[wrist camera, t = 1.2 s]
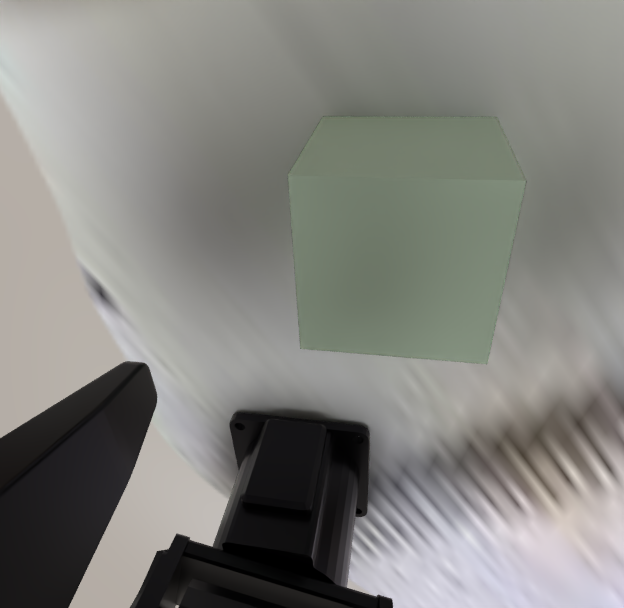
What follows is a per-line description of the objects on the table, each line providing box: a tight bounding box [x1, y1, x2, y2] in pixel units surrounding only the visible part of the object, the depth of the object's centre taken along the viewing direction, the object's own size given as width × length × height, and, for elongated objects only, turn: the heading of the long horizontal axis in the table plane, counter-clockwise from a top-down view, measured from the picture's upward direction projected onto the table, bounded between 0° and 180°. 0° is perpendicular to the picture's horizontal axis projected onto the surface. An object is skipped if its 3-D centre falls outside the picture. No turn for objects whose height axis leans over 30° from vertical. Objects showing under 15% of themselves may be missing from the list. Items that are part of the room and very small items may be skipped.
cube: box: [288, 116, 526, 364], centre depth 14 cm, size 5×5×5 cm
